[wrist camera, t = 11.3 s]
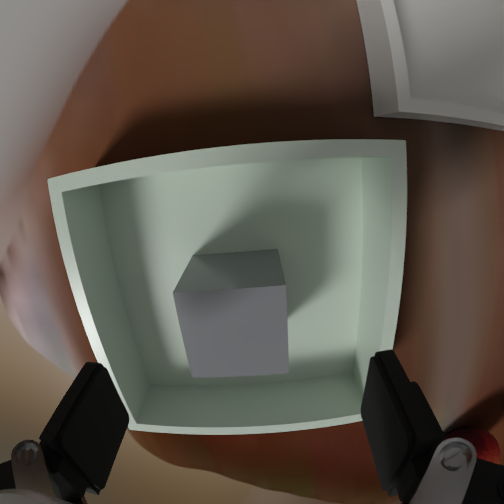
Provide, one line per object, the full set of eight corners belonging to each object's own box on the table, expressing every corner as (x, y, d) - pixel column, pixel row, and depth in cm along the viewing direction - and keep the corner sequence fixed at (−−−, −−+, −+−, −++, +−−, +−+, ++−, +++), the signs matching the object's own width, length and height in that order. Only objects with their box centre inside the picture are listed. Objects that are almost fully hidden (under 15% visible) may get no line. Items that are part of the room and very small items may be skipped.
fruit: (495, 415, 26) (527, 466, 17) (442, 467, 29) (464, 518, 20) (452, 411, 25) (490, 477, 15) (392, 469, 28) (413, 531, 18)
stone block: (192, 255, 18) (172, 292, 14) (277, 248, 18) (286, 284, 13) (204, 327, 20) (192, 377, 15) (281, 322, 20) (289, 373, 15)
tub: (334, -76, 11) (345, -102, 8) (498, -25, 11) (519, -36, 7) (374, 116, 16) (398, 111, 13) (534, 138, 16) (563, 141, 12)
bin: (92, 169, 17) (47, 179, 13) (368, 140, 17) (405, 140, 12) (146, 385, 23) (129, 429, 18) (358, 372, 22) (377, 417, 17)
